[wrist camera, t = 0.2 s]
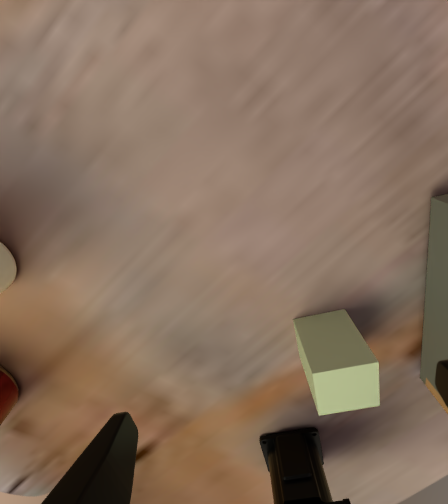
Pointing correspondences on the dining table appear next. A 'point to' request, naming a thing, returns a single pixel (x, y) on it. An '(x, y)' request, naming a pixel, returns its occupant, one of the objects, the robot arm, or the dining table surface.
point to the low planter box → (436, 296)
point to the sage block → (337, 363)
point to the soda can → (7, 393)
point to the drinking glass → (6, 268)
